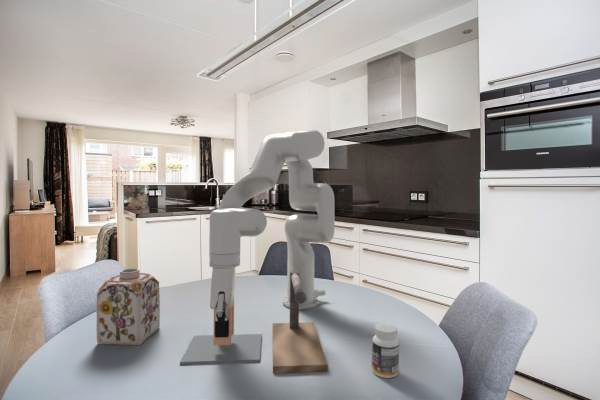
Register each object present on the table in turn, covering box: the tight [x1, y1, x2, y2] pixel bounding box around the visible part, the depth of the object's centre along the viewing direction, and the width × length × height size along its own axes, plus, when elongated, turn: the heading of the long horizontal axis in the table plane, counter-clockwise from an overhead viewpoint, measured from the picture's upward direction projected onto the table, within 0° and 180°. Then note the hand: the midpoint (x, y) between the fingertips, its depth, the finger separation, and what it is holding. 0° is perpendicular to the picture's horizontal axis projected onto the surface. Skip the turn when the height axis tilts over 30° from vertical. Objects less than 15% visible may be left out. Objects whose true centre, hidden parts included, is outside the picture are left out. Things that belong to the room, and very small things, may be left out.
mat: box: [179, 333, 262, 365], centre depth 84 cm, size 18×14×1 cm
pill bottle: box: [371, 323, 400, 379], centre depth 74 cm, size 6×6×10 cm
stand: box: [272, 271, 328, 374], centre depth 85 cm, size 12×24×17 cm, turn 5°
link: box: [213, 299, 235, 345], centre depth 84 cm, size 7×4×10 cm, turn 5°
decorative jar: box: [96, 267, 161, 346], centre depth 91 cm, size 12×12×18 cm
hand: (224, 329), depth 84 cm, fingers closed on link, 7 cm apart
